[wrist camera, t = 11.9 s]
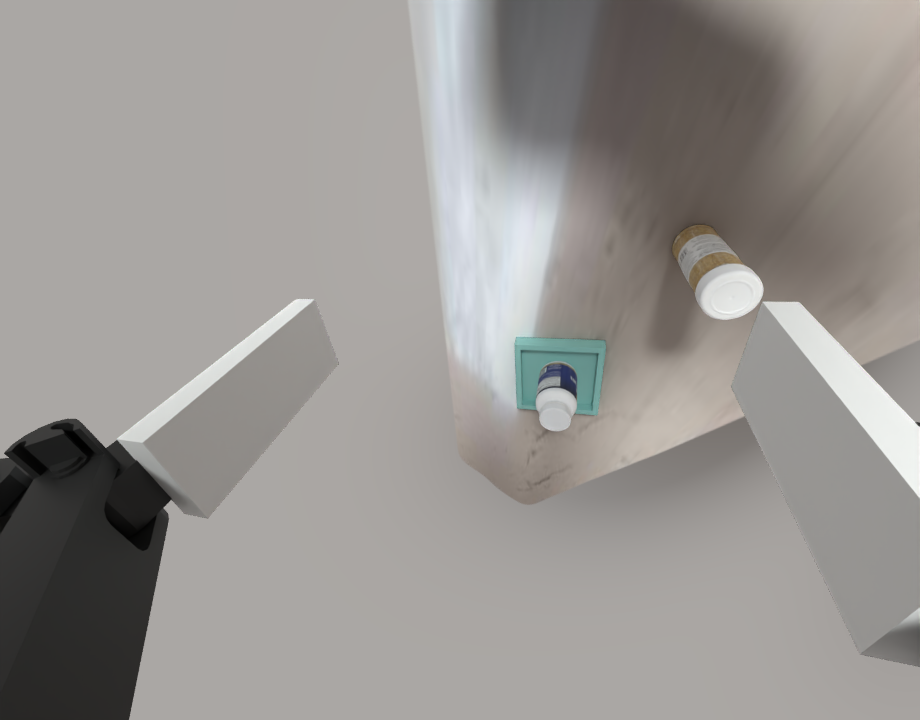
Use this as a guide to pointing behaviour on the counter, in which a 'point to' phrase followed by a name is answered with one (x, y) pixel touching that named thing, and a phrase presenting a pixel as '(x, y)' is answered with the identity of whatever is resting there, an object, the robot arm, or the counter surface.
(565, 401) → the pill bottle
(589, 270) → the counter surface
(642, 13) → the counter surface
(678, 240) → the sprinkles bottle
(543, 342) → the tray
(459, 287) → the counter surface
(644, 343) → the counter surface
